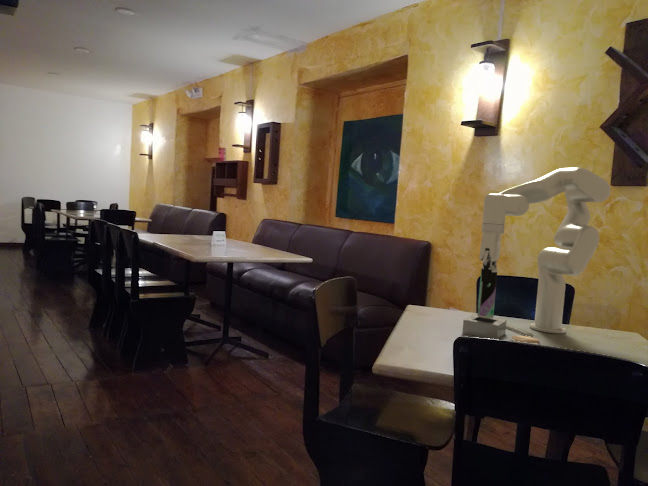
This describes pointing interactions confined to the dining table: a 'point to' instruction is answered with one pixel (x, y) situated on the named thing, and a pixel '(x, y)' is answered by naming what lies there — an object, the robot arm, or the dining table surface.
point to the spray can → (487, 295)
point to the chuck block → (484, 327)
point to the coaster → (525, 339)
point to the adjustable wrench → (518, 330)
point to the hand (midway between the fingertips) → (488, 279)
